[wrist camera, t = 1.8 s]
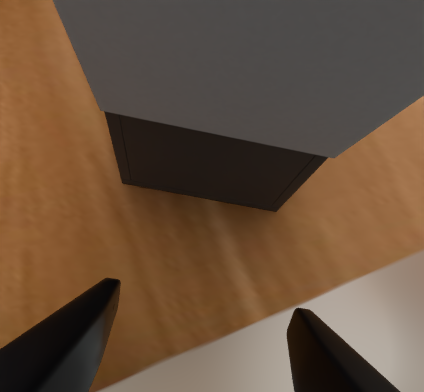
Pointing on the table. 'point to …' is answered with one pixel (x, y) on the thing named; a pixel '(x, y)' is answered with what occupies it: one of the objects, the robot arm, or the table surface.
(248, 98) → the lid
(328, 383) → the robot arm
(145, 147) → the dark grey box
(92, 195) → the table surface
